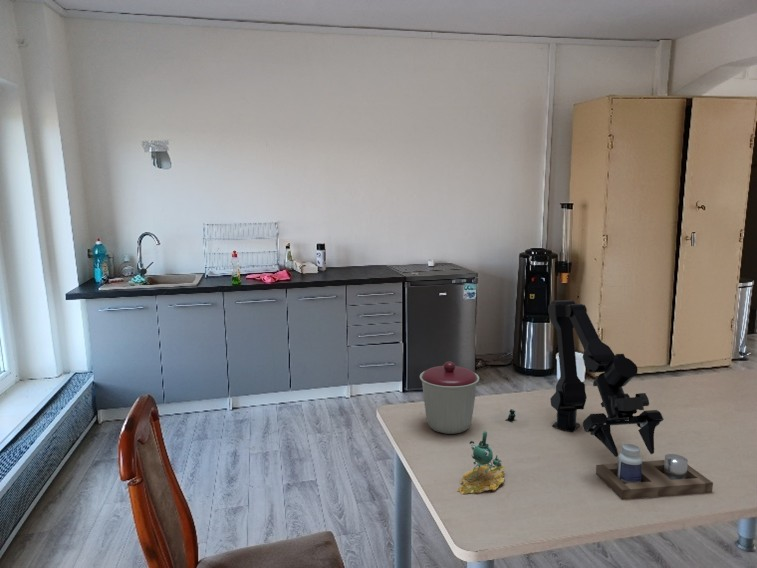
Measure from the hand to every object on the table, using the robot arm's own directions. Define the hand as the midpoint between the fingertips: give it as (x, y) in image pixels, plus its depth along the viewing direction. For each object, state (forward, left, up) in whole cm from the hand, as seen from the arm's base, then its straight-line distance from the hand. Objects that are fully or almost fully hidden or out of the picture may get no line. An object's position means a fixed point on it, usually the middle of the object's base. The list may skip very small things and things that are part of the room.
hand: (634, 454), depth 130 cm
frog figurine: (+20, -29, -9) cm, 37 cm away
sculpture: (-19, -42, -9) cm, 47 cm away
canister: (-1, -54, -9) cm, 55 cm away
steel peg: (-10, +7, -9) cm, 15 cm away
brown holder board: (-5, +3, -9) cm, 11 cm away
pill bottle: (-1, -1, -9) cm, 9 cm away
